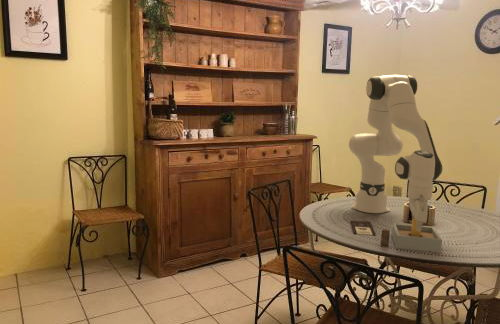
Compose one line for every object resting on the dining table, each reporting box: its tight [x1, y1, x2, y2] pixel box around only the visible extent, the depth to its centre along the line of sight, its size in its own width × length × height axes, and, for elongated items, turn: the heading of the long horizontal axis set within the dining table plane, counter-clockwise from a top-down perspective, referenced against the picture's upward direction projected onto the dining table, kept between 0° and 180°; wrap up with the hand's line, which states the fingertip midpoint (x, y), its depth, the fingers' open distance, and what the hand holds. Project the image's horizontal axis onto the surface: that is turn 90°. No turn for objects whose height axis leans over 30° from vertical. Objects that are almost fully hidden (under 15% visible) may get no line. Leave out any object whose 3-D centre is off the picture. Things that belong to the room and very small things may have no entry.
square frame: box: [391, 222, 443, 254], centre depth 165 cm, size 16×16×5 cm
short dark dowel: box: [380, 228, 391, 248], centre depth 162 cm, size 3×3×6 cm
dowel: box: [411, 218, 421, 237], centre depth 165 cm, size 4×4×10 cm
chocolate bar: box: [349, 220, 377, 237], centre depth 183 cm, size 9×1×18 cm
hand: (416, 226), depth 165 cm, fingers open, 8 cm apart
